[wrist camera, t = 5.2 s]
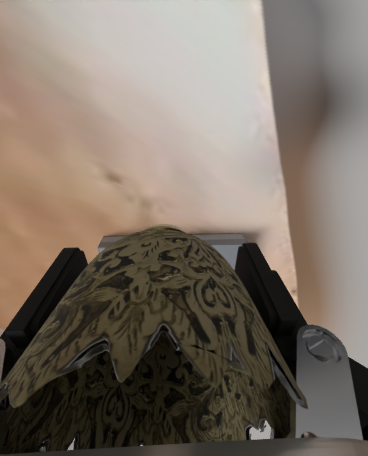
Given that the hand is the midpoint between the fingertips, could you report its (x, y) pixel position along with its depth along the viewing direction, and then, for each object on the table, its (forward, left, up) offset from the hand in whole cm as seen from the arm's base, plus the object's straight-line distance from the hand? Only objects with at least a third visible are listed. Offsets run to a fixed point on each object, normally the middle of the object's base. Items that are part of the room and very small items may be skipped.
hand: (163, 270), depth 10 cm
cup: (0, 0, -2) cm, 2 cm away
